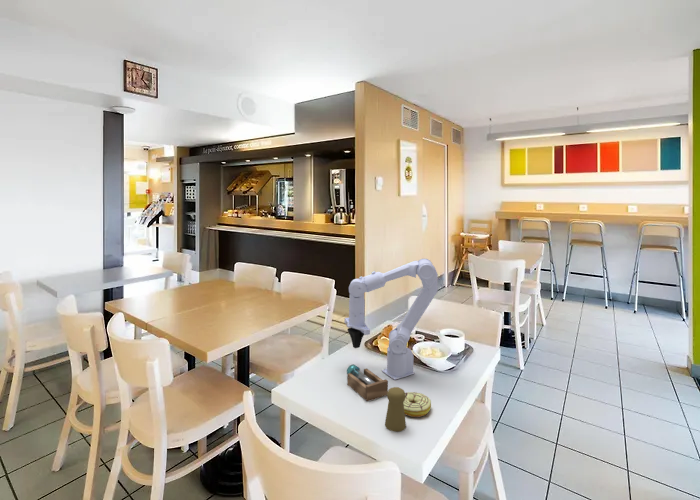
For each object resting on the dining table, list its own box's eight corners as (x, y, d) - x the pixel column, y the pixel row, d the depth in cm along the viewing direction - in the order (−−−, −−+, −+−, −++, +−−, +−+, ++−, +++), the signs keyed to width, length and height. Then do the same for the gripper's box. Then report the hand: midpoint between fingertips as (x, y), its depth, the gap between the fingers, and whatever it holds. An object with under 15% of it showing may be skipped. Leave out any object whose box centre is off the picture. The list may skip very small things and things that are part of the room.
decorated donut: (401, 397, 124) (401, 386, 124) (434, 405, 120) (434, 394, 119) (391, 413, 115) (391, 401, 114) (425, 422, 110) (426, 410, 110)
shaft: (346, 377, 135) (346, 365, 135) (357, 374, 138) (357, 363, 137) (369, 396, 123) (369, 383, 122) (380, 392, 125) (380, 380, 125)
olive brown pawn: (405, 433, 105) (406, 396, 103) (383, 430, 106) (384, 393, 105) (406, 420, 111) (407, 385, 109) (386, 417, 112) (386, 383, 110)
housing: (347, 384, 131) (347, 371, 131) (366, 378, 136) (366, 365, 135) (367, 401, 121) (367, 387, 120) (387, 395, 125) (388, 380, 124)
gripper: (337, 308, 142) (337, 342, 144) (358, 319, 130) (357, 356, 132) (353, 305, 146) (353, 339, 148) (375, 316, 133) (374, 352, 135)
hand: (356, 347), depth 140 cm, fingers closed
